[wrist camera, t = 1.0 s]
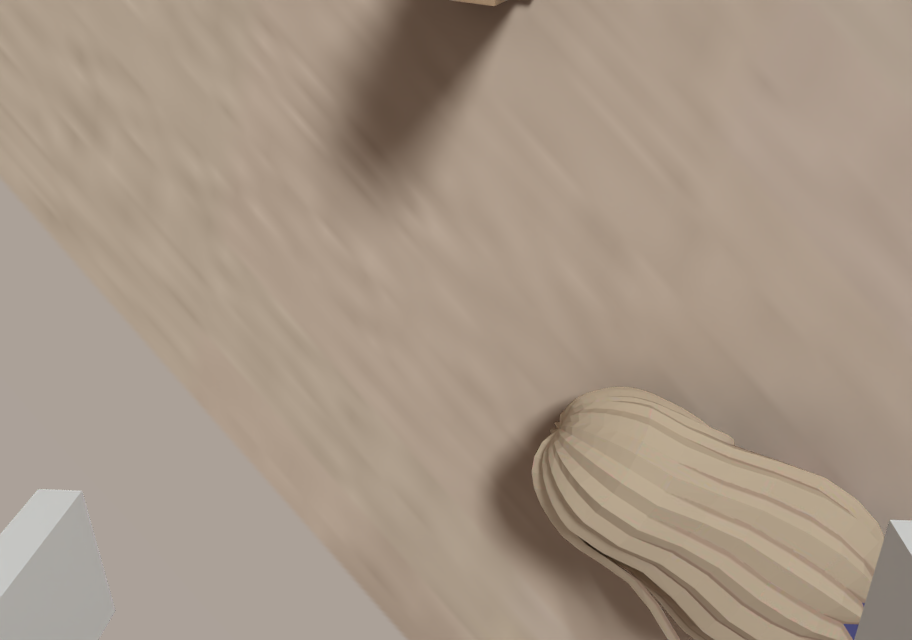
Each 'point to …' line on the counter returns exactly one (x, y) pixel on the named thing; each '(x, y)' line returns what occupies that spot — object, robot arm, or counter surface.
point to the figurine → (705, 522)
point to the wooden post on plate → (483, 2)
